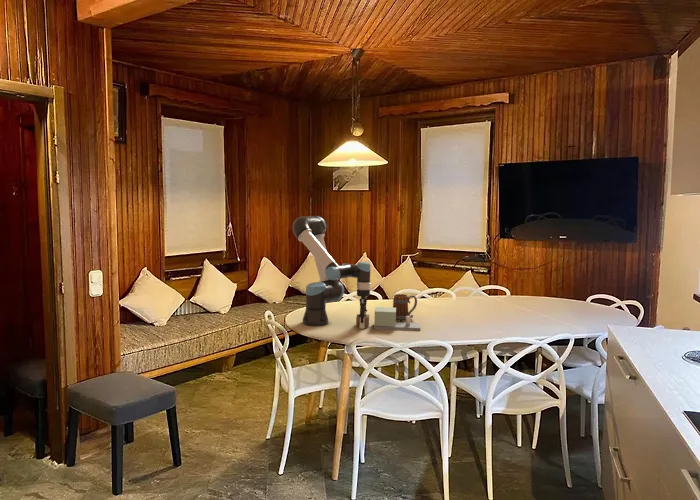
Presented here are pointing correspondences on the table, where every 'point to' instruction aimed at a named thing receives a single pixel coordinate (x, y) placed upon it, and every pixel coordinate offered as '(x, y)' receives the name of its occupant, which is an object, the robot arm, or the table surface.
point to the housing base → (402, 326)
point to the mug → (403, 306)
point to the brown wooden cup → (365, 320)
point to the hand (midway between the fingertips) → (362, 325)
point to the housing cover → (385, 316)
